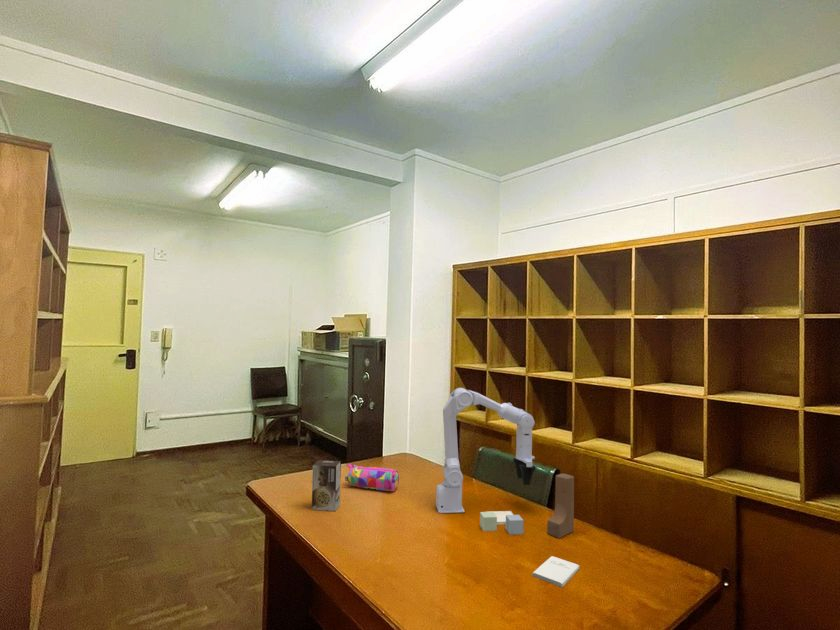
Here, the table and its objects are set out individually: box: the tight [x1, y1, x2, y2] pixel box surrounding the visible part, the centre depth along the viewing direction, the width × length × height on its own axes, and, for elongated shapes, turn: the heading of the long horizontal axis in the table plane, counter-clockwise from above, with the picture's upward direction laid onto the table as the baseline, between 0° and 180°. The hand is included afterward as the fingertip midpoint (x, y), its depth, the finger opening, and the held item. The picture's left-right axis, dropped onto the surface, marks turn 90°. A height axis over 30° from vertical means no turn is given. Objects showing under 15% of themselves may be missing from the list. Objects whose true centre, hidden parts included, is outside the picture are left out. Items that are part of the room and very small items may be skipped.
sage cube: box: [479, 511, 498, 532], centre depth 149 cm, size 4×4×4 cm
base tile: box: [485, 510, 514, 526], centre depth 157 cm, size 9×9×2 cm
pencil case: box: [344, 463, 400, 492], centre depth 186 cm, size 22×9×9 cm, turn 73°
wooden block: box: [546, 473, 575, 539], centre depth 147 cm, size 9×4×18 cm, turn 131°
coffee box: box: [311, 459, 342, 512], centre depth 164 cm, size 9×6×16 cm
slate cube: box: [505, 514, 525, 535], centre depth 147 cm, size 4×4×4 cm
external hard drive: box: [532, 555, 580, 588], centre depth 122 cm, size 2×8×12 cm
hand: (523, 481), depth 168 cm, fingers open, 7 cm apart
